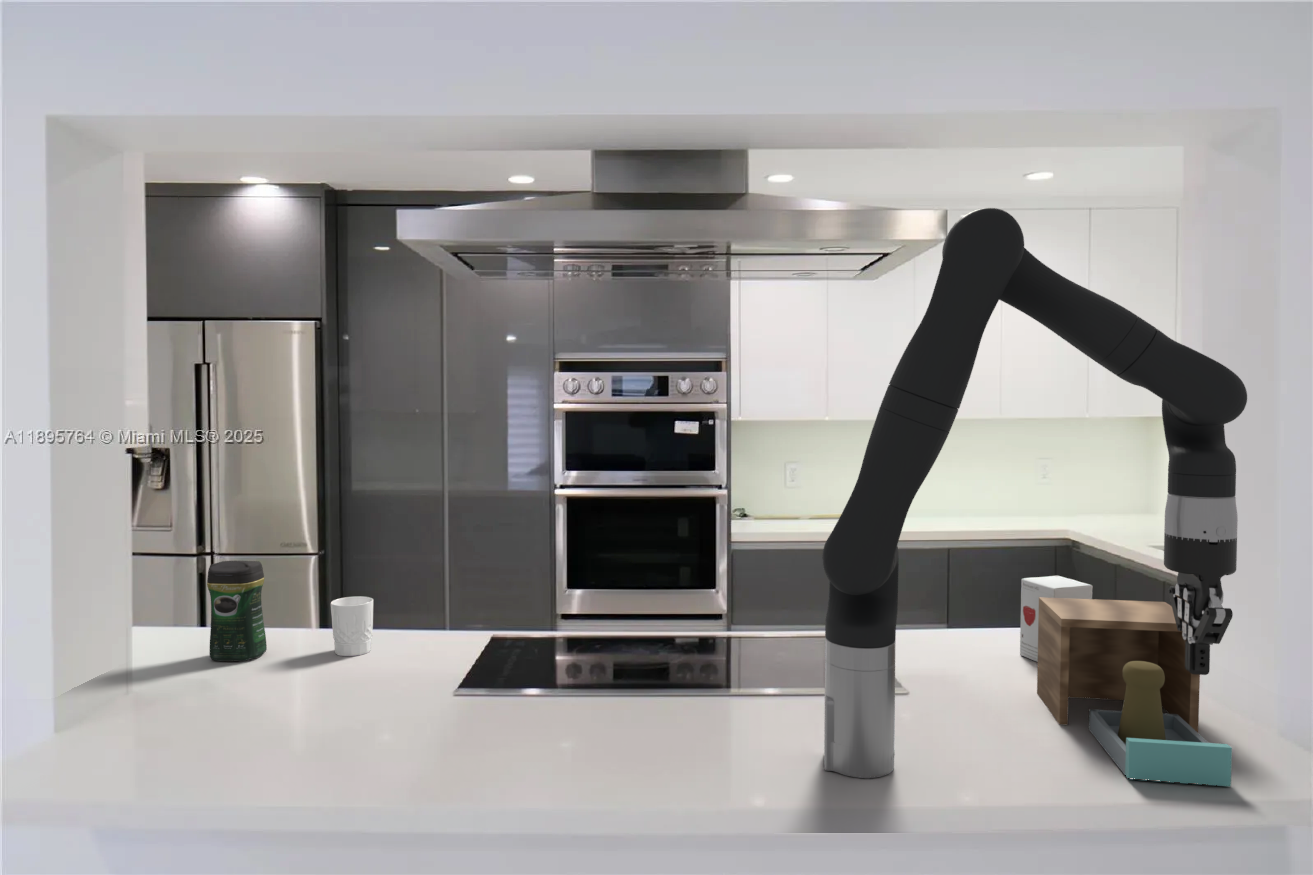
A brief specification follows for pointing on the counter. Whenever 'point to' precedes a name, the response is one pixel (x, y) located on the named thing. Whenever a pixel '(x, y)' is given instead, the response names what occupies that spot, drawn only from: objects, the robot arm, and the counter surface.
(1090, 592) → the supplement box
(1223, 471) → the robot arm
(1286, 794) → the counter surface
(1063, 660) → the wooden drawer cabinet
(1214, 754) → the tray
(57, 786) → the counter surface
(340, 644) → the white cup
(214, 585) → the coffee jar
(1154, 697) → the olive pawn figure
